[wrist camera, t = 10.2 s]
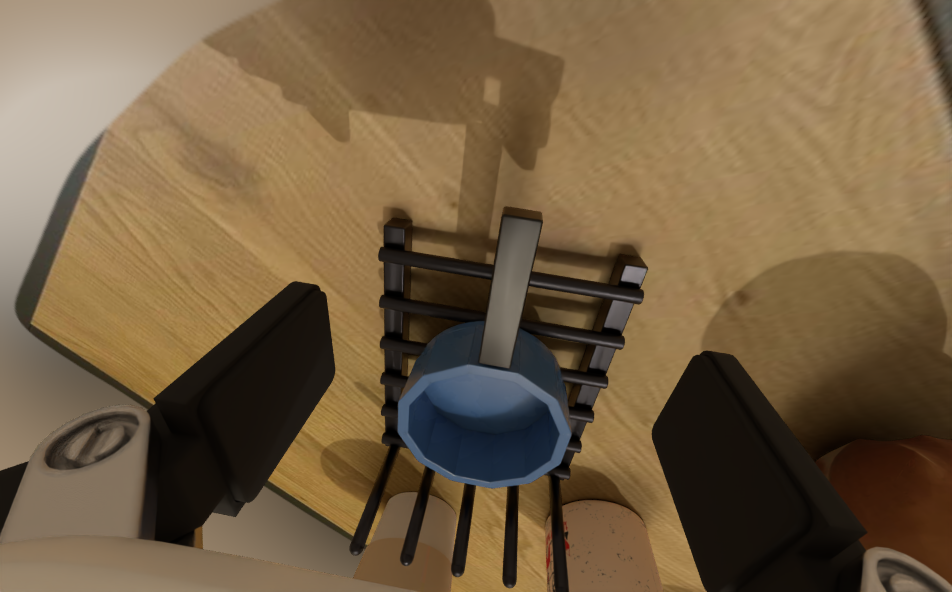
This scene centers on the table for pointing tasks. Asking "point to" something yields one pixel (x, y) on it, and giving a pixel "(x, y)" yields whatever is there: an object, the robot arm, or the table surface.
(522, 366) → the saucepan
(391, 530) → the coffee cup
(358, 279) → the table surface
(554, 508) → the dish rack
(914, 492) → the butternut squash
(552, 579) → the teacup with lid
